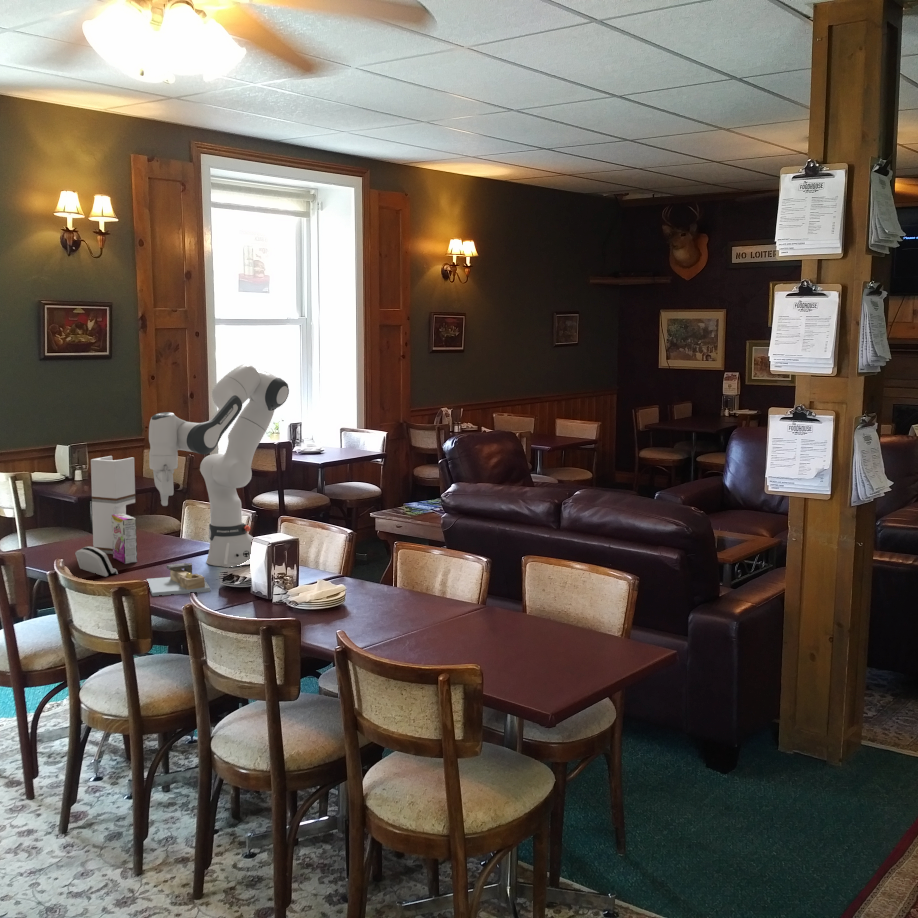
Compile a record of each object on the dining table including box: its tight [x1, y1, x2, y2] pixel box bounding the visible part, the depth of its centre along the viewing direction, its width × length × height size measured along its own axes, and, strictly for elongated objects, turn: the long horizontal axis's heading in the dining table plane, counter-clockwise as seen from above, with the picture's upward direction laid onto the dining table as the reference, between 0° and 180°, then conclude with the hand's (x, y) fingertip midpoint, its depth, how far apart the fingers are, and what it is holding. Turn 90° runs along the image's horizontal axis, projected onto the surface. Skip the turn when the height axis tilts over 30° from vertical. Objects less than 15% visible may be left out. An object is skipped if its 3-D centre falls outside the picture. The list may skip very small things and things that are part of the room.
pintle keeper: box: [166, 562, 193, 579], centre depth 326 cm, size 8×13×6 cm, turn 23°
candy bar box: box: [111, 513, 138, 565], centre depth 358 cm, size 11×5×16 cm, turn 41°
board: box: [145, 574, 211, 597], centre depth 326 cm, size 18×18×1 cm
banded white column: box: [90, 455, 136, 555], centre depth 373 cm, size 11×11×35 cm
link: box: [169, 569, 206, 590], centre depth 325 cm, size 16×6×3 cm, turn 41°
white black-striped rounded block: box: [74, 546, 119, 577], centre depth 342 cm, size 17×5×10 cm, turn 50°
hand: (164, 505), depth 322 cm, fingers closed
